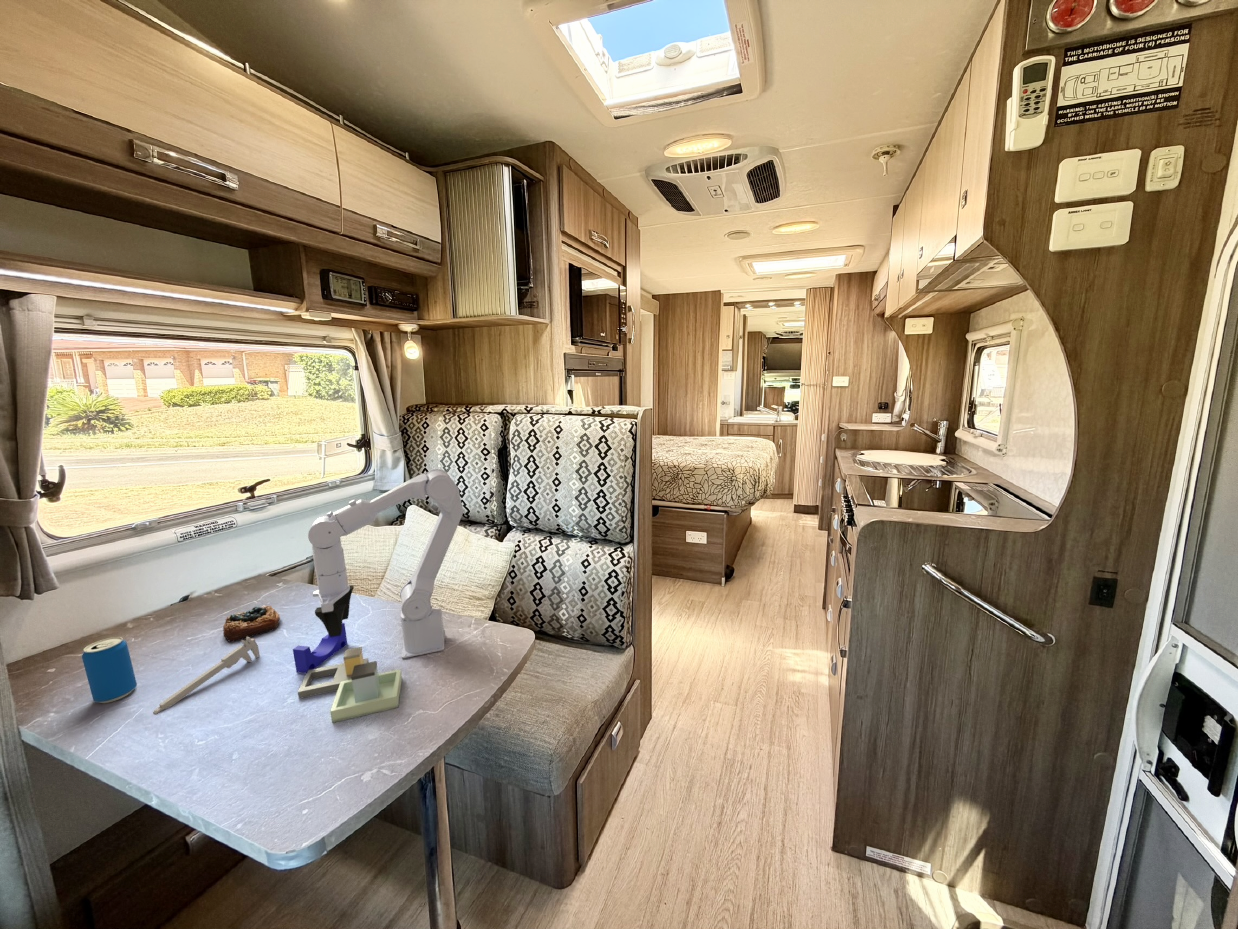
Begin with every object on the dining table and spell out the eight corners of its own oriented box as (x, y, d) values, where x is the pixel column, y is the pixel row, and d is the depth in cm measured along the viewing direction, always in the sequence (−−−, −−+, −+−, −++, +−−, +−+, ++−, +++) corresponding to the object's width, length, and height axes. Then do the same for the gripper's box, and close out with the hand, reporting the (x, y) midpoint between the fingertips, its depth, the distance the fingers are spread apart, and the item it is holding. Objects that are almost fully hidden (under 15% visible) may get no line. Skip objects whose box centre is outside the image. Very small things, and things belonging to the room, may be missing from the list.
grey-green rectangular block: (380, 689, 99) (376, 661, 98) (378, 701, 96) (374, 672, 94) (358, 694, 98) (354, 665, 97) (355, 706, 94) (351, 677, 93)
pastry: (224, 629, 127) (220, 609, 126) (278, 614, 135) (275, 595, 134) (224, 646, 119) (220, 625, 118) (282, 629, 127) (278, 609, 125)
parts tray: (402, 679, 103) (400, 669, 103) (397, 707, 94) (396, 696, 94) (342, 692, 100) (340, 681, 99) (332, 723, 91) (330, 711, 90)
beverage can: (105, 690, 102) (92, 640, 100) (143, 682, 105) (132, 633, 103) (86, 709, 97) (72, 656, 94) (128, 700, 99) (115, 648, 97)
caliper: (257, 657, 114) (252, 633, 113) (260, 657, 114) (255, 634, 112) (153, 714, 95) (146, 686, 94) (156, 715, 95) (149, 687, 93)
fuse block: (368, 664, 109) (365, 640, 108) (363, 684, 102) (359, 660, 101) (309, 676, 105) (305, 652, 104) (298, 698, 98) (294, 673, 97)
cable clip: (332, 643, 119) (328, 621, 118) (347, 645, 118) (344, 622, 117) (291, 672, 107) (287, 648, 106) (307, 674, 106) (303, 650, 105)
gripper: (318, 561, 110) (326, 615, 112) (300, 587, 96) (310, 647, 99) (352, 557, 112) (360, 610, 114) (339, 581, 99) (348, 640, 101)
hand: (339, 627), depth 107 cm, fingers open, 7 cm apart
